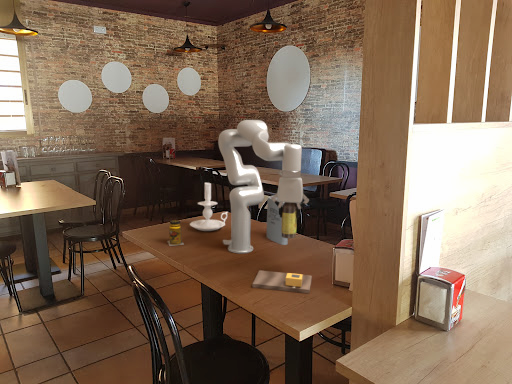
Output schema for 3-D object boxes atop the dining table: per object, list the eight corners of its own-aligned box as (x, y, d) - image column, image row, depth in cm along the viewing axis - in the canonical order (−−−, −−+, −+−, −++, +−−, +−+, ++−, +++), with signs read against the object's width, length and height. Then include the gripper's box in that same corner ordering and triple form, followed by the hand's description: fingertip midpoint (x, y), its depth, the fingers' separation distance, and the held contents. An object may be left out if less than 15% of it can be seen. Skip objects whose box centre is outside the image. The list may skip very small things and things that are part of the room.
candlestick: (237, 229, 231) (238, 182, 225) (201, 236, 215) (201, 186, 210) (218, 221, 246) (218, 177, 241) (183, 227, 231) (183, 181, 225)
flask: (264, 236, 217) (265, 192, 213) (271, 235, 220) (272, 192, 215) (281, 245, 203) (283, 198, 198) (288, 244, 205) (290, 197, 200)
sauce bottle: (298, 238, 162) (300, 191, 158) (283, 239, 160) (285, 191, 157) (293, 234, 168) (295, 188, 164) (279, 234, 166) (281, 189, 163)
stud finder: (285, 285, 150) (285, 277, 149) (287, 280, 154) (287, 272, 154) (301, 286, 148) (301, 279, 148) (302, 281, 153) (302, 274, 153)
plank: (252, 287, 151) (252, 283, 151) (259, 273, 165) (259, 270, 165) (309, 293, 147) (309, 289, 147) (311, 279, 161) (311, 275, 160)
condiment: (169, 246, 197) (169, 223, 195) (166, 241, 205) (166, 219, 203) (184, 244, 200) (184, 222, 198) (180, 240, 208) (180, 218, 205)
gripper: (268, 174, 157) (267, 217, 161) (312, 177, 154) (309, 221, 157) (271, 172, 164) (270, 213, 168) (313, 174, 161) (310, 216, 165)
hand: (289, 216), depth 163 cm, fingers closed on sauce bottle, 6 cm apart
